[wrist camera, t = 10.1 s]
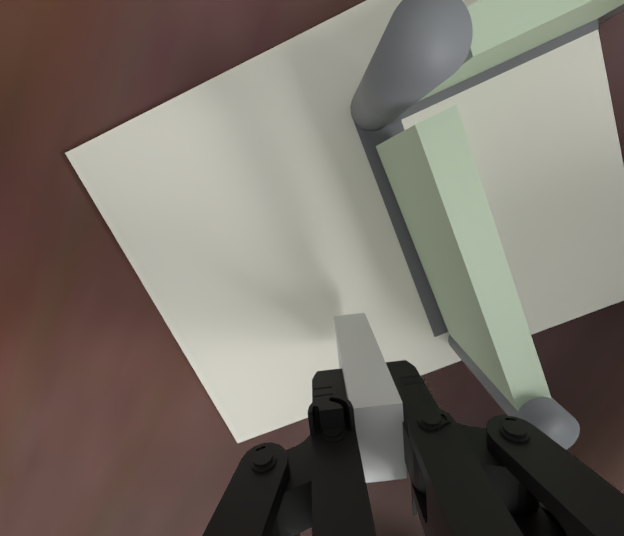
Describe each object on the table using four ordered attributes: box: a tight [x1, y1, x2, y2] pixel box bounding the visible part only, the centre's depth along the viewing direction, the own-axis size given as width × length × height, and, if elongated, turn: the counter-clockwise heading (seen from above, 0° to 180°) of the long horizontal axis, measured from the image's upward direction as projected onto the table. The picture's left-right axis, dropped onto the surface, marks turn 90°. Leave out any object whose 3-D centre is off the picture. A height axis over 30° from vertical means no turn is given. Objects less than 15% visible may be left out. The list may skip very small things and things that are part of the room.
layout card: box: [65, 0, 624, 443], centre depth 17 cm, size 24×18×1 cm
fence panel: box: [376, 105, 580, 450], centre depth 13 cm, size 12×2×7 cm, turn 25°
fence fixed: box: [351, 0, 624, 131], centre depth 11 cm, size 12×2×8 cm, turn 114°
